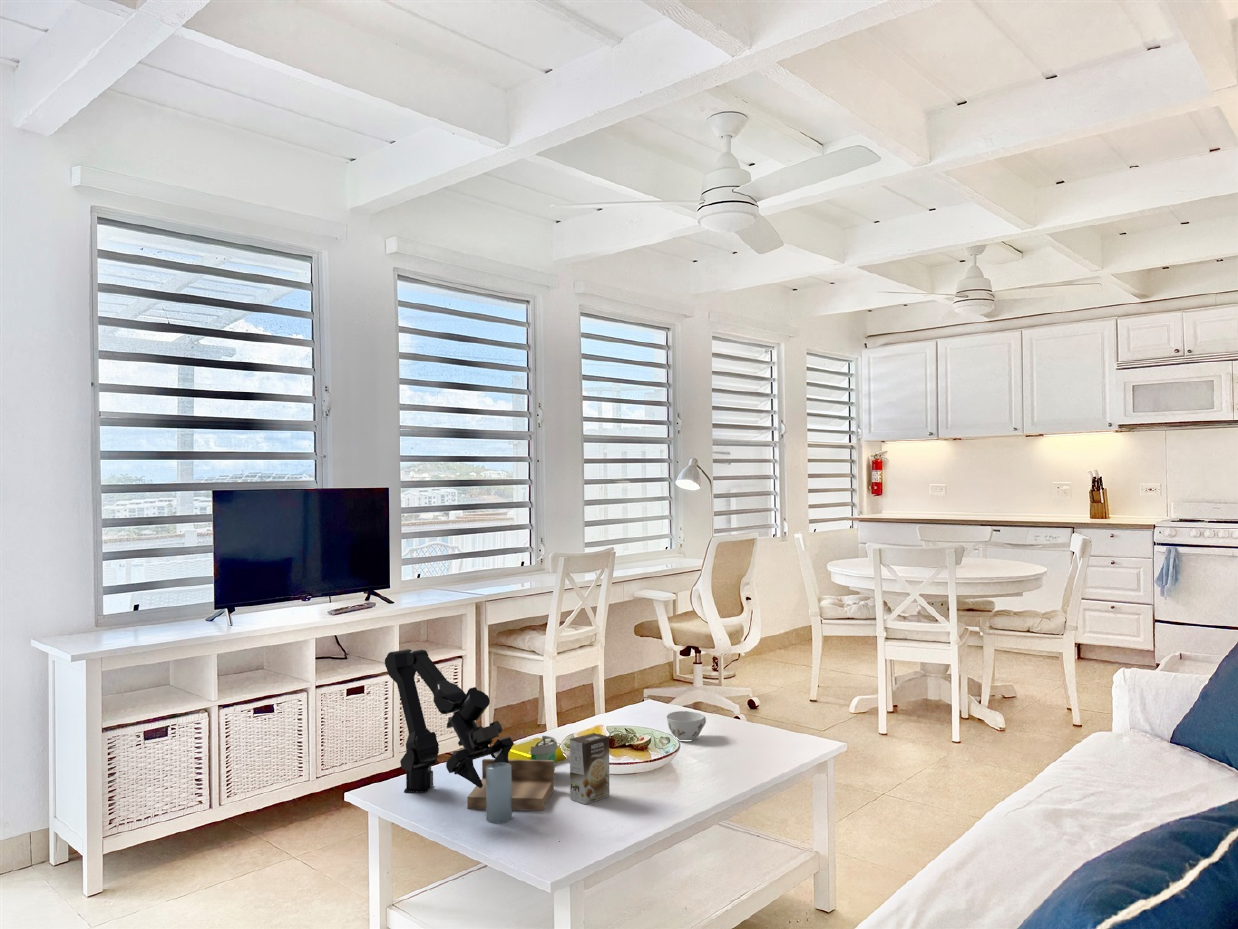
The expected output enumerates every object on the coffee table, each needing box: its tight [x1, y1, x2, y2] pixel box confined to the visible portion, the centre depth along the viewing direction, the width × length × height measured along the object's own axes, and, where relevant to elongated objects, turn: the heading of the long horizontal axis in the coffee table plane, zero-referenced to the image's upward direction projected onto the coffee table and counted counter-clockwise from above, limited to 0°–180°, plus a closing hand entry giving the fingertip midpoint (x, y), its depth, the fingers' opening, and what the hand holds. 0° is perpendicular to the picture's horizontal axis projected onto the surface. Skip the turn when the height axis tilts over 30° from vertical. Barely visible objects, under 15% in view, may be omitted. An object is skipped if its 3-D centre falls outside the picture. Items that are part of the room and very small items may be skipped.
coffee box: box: [569, 732, 610, 805], centre depth 230 cm, size 9×6×16 cm
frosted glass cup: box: [485, 762, 513, 824], centre depth 216 cm, size 6×6×13 cm
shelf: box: [466, 758, 555, 811], centre depth 230 cm, size 20×16×8 cm
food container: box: [531, 735, 558, 770], centre depth 248 cm, size 12×6×10 cm, turn 168°
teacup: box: [666, 710, 707, 741], centre depth 284 cm, size 15×12×8 cm
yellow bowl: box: [508, 737, 567, 764], centre depth 265 cm, size 15×15×5 cm
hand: (495, 782), depth 217 cm, fingers open, 9 cm apart
